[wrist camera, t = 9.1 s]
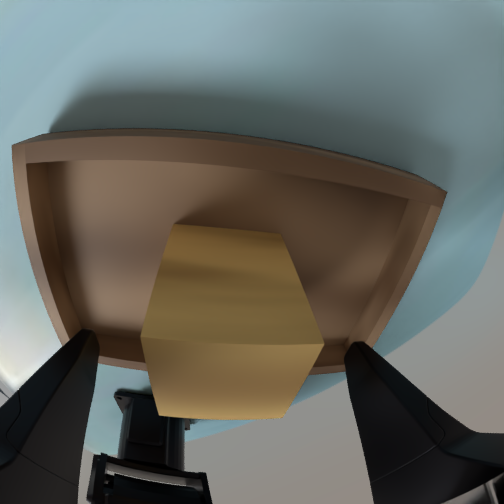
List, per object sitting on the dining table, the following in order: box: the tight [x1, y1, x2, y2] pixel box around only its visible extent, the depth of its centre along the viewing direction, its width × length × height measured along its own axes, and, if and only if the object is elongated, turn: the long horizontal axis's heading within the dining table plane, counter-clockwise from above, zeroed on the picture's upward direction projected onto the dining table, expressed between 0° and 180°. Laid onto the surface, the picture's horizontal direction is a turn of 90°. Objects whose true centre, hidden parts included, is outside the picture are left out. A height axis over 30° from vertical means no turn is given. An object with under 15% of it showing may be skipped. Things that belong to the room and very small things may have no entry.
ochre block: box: [140, 224, 325, 420], centre depth 10 cm, size 4×4×6 cm
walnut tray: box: [12, 128, 447, 375], centre depth 12 cm, size 12×18×2 cm, turn 81°
